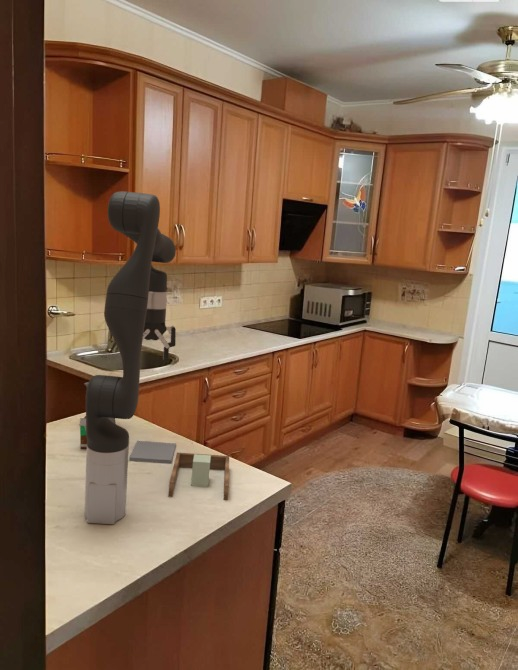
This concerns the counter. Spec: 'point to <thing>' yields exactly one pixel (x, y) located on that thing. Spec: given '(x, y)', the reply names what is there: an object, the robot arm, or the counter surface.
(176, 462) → the wooden u-shaped frame
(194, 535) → the counter surface
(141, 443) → the slate mat
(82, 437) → the food container
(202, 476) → the sage block
